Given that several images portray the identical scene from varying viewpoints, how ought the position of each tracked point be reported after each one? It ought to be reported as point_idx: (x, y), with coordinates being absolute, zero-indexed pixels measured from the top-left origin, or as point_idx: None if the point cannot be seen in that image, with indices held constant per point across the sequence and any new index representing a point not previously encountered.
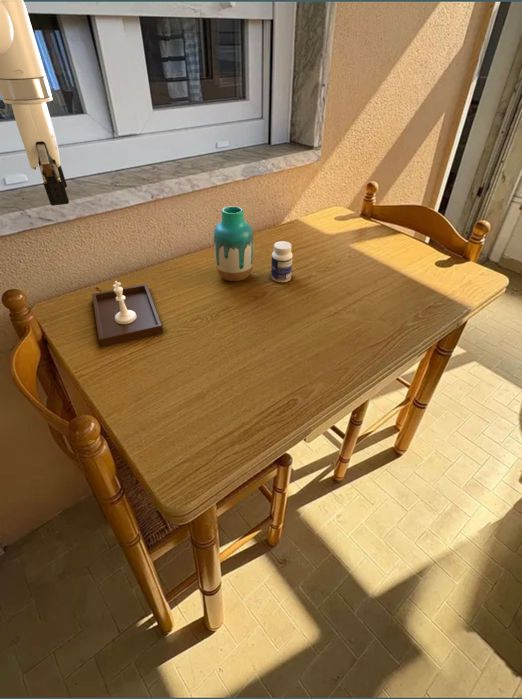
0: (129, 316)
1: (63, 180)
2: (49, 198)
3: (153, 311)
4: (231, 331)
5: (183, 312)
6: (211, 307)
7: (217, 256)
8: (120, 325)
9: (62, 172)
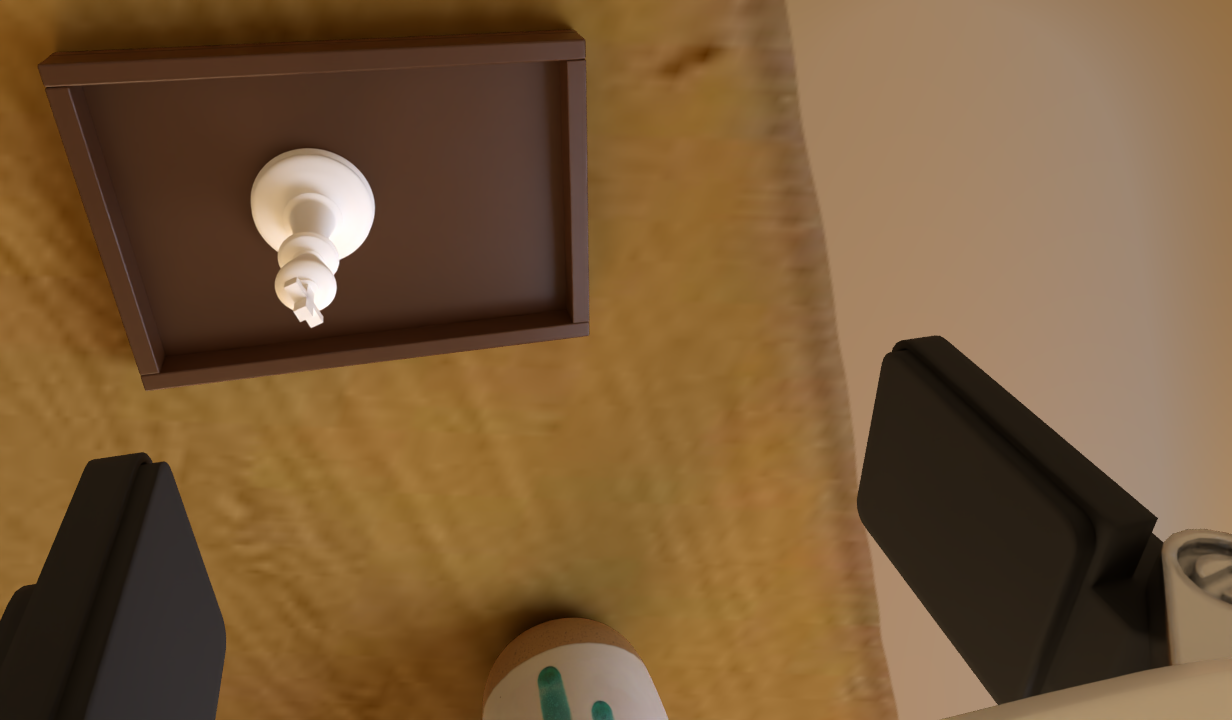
0: (285, 237)
1: (906, 564)
2: (69, 536)
3: (292, 359)
4: None
5: (323, 456)
6: (337, 560)
7: (554, 708)
8: (242, 173)
9: (974, 660)
